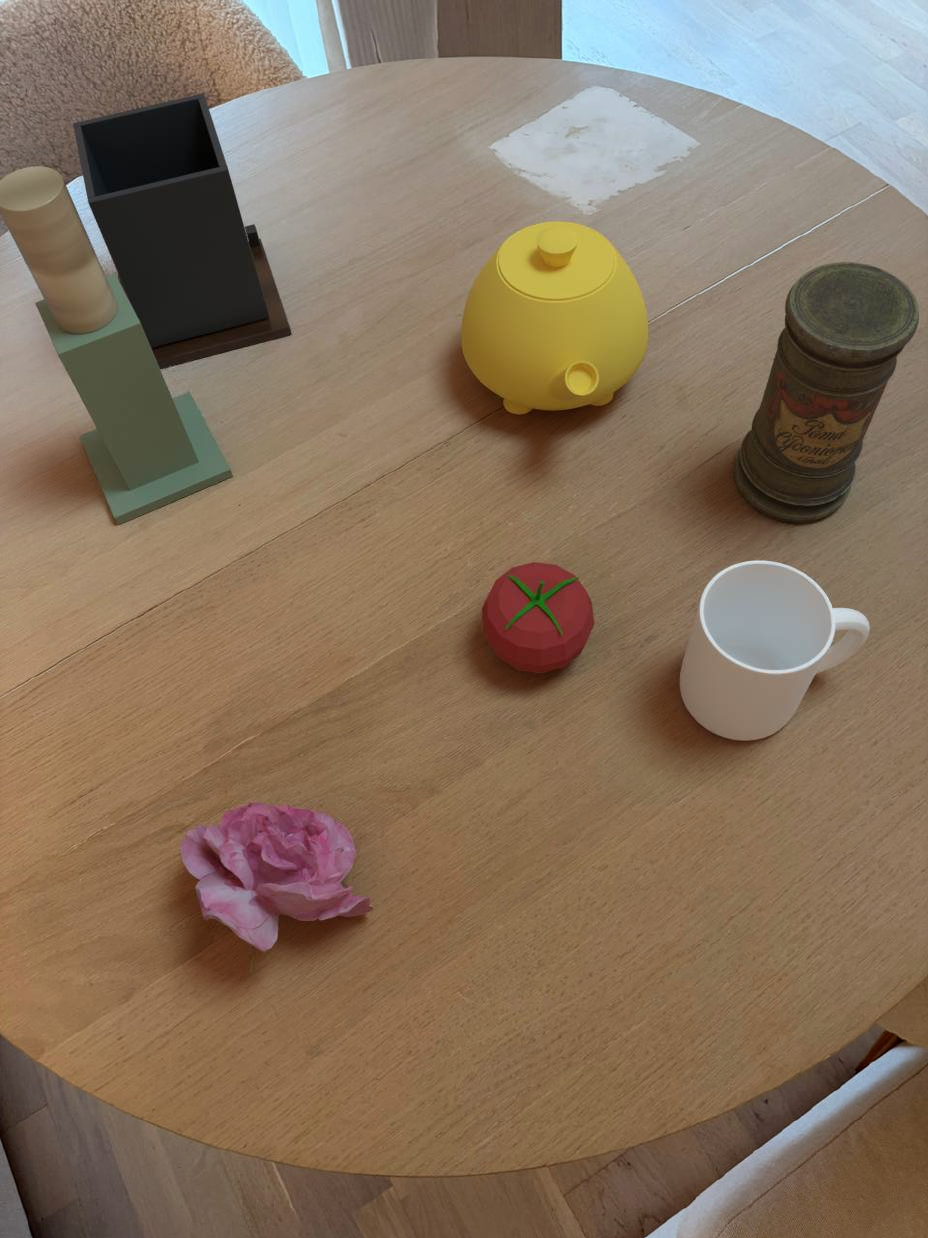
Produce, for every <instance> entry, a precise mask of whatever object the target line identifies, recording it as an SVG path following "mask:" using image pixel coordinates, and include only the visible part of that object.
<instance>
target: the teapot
mask: <svg viewBox="0 0 928 1238" xmlns="http://www.w3.org/2000/svg"><path fill="white" fill-rule="evenodd" d="M461 319H462V320H461V327H460V338H461V339H460V341H461V342H460V343H461V349H462V354H463V357H464V360H465V361H466V364H467V365H468V368H469V369H470V370H471V372H472V374H473V375H474V376H475V377H476V378H477V380H478V381H479V382H480V384H481V383H482V385H483V386H485V387H486V388H487V389H488V390H490V391H491V392H493V393H494V394H496V395H497V396H499V397H501V398H502V399H503V402H502V403H503V407H504V409H505V410H506V411H507V412H508V413H511V414H514V415H525V414H528V413H530V412H532V410H540V411H565V410H571V409H576V408H581V407H584V406H588V405H591V406H596V407H601V406H605V405H607V404H609V403H610V402H611V401H612V400H613V398H614V393H615V392H616V391H619V389H621V388H622V387H623V386H625V385H626V384H627V383H628V382H629V381H630V380H631V379H632V377H633V376H634V375H635V374H636V372H637V371H638V370H639V368H640V366H641V364H642V363H643V362H644V361H643V360H644V359H645V356H646V353H647V348H648V343H649V322H648V321H649V320H648V314H647V308H646V302H645V298H644V295H643V293H642V290H641V288H640V285H639V282H638V280H637V279H636V277H635V275H634V273H633V272H632V270H631V268H630V266H629V264H627V262H626V261H625V259H624V258H623V256H622V255H621V253H620V252H619V251H618V249H617V248H616V247H615V246H614V245H613V244H612V242H610V241H609V240H608V239H607V238H606V236H604V235H603V234H601V233H600V232H599V231H597V230H595V229H593V228H591V227H589V226H586V225H583V224H580V223H577V222H571V221H558V220H557V221H545V222H539V223H536V224H532V225H529V226H526V227H524V228H522V229H519V230H518V231H516V232H514V233H513V234H512V235H510V236H509V237H508V238H507V239H506V240H504V241H503V243H502V244H501V245H500V246H499V247H497V249H496V250H495V251H494V253H493V254H492V255H491V256H490V258H489V259H488V260H487V262H486V263H485V264H484V266H483V267H482V268H481V270H480V271H479V273H478V274H477V276H476V278H475V280H474V281H473V283H472V285H471V288H470V290H469V293H468V295H467V299H466V301H465V305H464V309H463V314H462V318H461Z"/></svg>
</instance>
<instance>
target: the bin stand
mask: <svg viewBox="0 0 928 1238" xmlns="http://www.w3.org/2000/svg"><path fill="white" fill-rule="evenodd" d="M244 228H245V231H246V235H247V238H248V242H249V246H250V249H251V253H252V256H253V260H254V263H255V267H256V271H257V274H258V278H259V281H260V285H261V289H262V292H263V296H264V299H265V303H266V307H267V310H268V314H269V318H266V319H262V320H258V321H254V322H250V323H246V324H243V325H239V326H235V327H231V328H227V329H223V330H219V331H215V332H211V333H208V334H204V335H200V336H196V337H192V338H188V339H184V340H180V341H177V342H173V343H169V344H165V345H161V346H157V347H153V348H151V349H152V351H153V354H154V356H155V358H156V361H157V363H158V366H159V368H160V370H161V369H164V368H168V367H173V366H176V365H180V364H184V363H187V362H191V361H194V360H200V359H203V358H207V357H210V356H215V355H218V354H223V353H226V352H229V351H234V350H238V349H242V348H244V347H250V346H253V345H257V344H260V343H264V342H268V341H272V340H277V339H280V338H284V337H287V336H291V335H293V334H292V331H291V330H292V329H291V326H290V323H289V320H288V317H287V314H286V311H285V307H284V305H283V302H282V298H281V295H280V293H279V290H278V287H277V283H276V280H275V277H274V274H273V271H272V268H271V265H270V263H269V259H268V257H267V253H266V249H265V247H264V244H263V241H262V238H260V237H259V233H258V230H257V227H256V225H255V224H254V223H253V224H249V225H244ZM114 268H115V269H116V267H115V266H114ZM117 278H118V280H119V282H120V284H121V286H122V288H123V290H124V292H125V294H126V296H127V293H126V291H125V289H124V286H123V284H122V281H121V279H120V277H119V274H118V273H117ZM127 298H128V296H127ZM128 300H129V298H128ZM129 302H130V300H129Z"/></svg>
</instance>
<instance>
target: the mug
mask: <svg viewBox="0 0 928 1238" xmlns="http://www.w3.org/2000/svg"><path fill="white" fill-rule="evenodd" d="M870 630H871V628H870V622H869V620H868V618H867V617H866V615H864V613H862V612H861V611H859V610H856V609H853V608H849V607H833V605H832V603H831V601H830V599H829V597H828V595H827V594H826V592H825V591H824V590H823V588H822V587H821V586H820V584H818V583H817V582H816V581H815V580H813V578H812V577H810V576H809V575H807V574H806V573H804V572H802V571H801V570H799V569H797V568H795V567H793V566H791V565H787V564H786V563H785V564H784V563H782V562H777V561H773V560H772V561H771V560H757V559H756V560H747V561H742V562H738V563H735V564H733V565H730V566H727V567H726V568H724V569H722V570H721V571H719V572H718V573H717V574H715V575H714V576H713V577H712V578H711V579H710V581H709V582H708V583H707V584H706V586H705V588H704V589H703V591H702V594H701V596H700V599H699V602H698V606H697V609H696V613H695V617H694V621H693V624H692V627H691V631H690V635H689V638H688V642H687V646H686V649H685V652H684V656H683V659H682V663H681V667H680V673H679V691H680V696H681V698H682V701H683V704H684V706H685V708H686V710H687V712H689V714H690V715H691V717H692V718H694V720H695V721H696V722H697V723H698V724H699V725H701V726H702V727H703V728H704V729H706V730H708V731H709V732H710V733H713V734H715V735H717V736H719V737H721V738H725V739H729V740H732V741H733V740H734V741H744V742H745V741H747V742H749V741H756V740H760V739H761V740H762V739H764V738H767V737H770V736H771V735H773V734H776V733H778V731H780V730H782V729H783V727H785V726H786V725H787V724H788V723H789V722H790V720H791V719H792V718H793V716H795V714H796V713H797V710H798V708H799V706H800V705H801V702H802V701H803V699H804V697H805V695H806V693H807V691H808V689H809V687H810V685H811V683H812V681H813V680H814V679H815V678H814V677H815V676H816V675H817V674H820V673H823V672H826V671H829V670H831V669H833V668H835V667H837V666H839V665H841V664H843V663H845V662H846V661H848V660H849V659H850V658H851V657H853V656H854V655H856V653H858V651H859V650H860V649H861V648H862V647H863V646H864V645H865V644H866V642H867V640H868V638H869V635H870ZM841 631H843V632H845V631H846V632H845V634H844V635H843V636H842V638H840V639H839V640H838V641H837V642H836V643H833V641H834V638H835V635H836V634H835V633H837V632H841ZM832 643H833V645H832Z"/></svg>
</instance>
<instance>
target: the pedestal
mask: <svg viewBox="0 0 928 1238" xmlns="http://www.w3.org/2000/svg"><path fill="white" fill-rule="evenodd" d="M105 276H106V278H107V280H108V283H109V285H110V287H111V290H112V292H113V294H114V296H115V299H116V301H117V305H118V308H117V312H116V315H115V317H114V318H113V319H112V320H111V321H110V323H108V324H107V325H106V326H104V327H103V328H101V329H99V330H96V331H94V332H90V333H85V334H74V333H69V332H66V331H64V330H63V329H61V328H60V327H59V326H58V325H57V323H56V321H55V319H54V317H53V315H52V313H51V311H50V309H49V307H48V305H47V303H46V301H45V299H44V298H43V299H41V300H38V301H35V302H34V304H35V306H36V308H37V310H38V313H39V315H40V317H41V320H42V322H43V325H44V326H45V329H46V331H47V334H48V336H49V338H50V340H51V342H52V345H53V347H54V349H55V352H56V354H57V356H58V358H59V359H60V361H61V364H62V365H63V367H64V369H65V371H66V373H67V375H68V377H69V379H70V380H71V382H72V385H73V386H74V388H75V390H76V392H77V394H78V395H79V398H80V399H81V401H82V403H83V405H84V407H85V409H86V411H87V412H88V414H89V416H90V418H91V420H92V422H93V424H94V426H95V427H96V428H95V429H93V430H90V431H87V432H85V433H83V434H81V435H79V437H78V438H79V440H80V442H81V444H82V446H83V449H84V452H85V453H86V456H87V458H88V460H89V463H90V465H91V468H92V470H93V472H94V475H95V477H96V479H97V481H98V483H99V486H100V489H101V491H102V494H103V496H104V498H105V500H106V502H107V505H108V507H109V510H110V512H111V514H112V516H113V519H114V520H115V522H116V524H117V525H122V524H124V523H126V522H129V521H131V520H134V519H136V518H138V517H141V516H143V515H145V514H148V513H150V512H152V511H155V510H158V509H160V508H162V507H164V506H166V505H169V504H172V503H173V502H176V501H178V500H182V499H184V498H185V497H188V496H190V495H192V494H195V493H197V492H200V491H202V490H204V489H207V488H210V487H211V486H214V485H216V484H218V483H221V482H223V481H226V480H229V479H230V478H232V477H234V475H233V472H232V470H231V468H230V465H229V464H228V461H227V460H226V458H225V456H224V454H223V452H222V451H221V448H220V447H219V444H218V443H217V441H216V439H215V437H214V435H213V433H212V431H211V430H210V427H209V426H208V424H207V422H206V420H205V418H204V416H203V414H202V412H201V410H200V409H199V407H198V405H197V402H196V401H195V399H194V398H193V395H192V393H191V392H190V391H188V392H185V393H183V394H180V395H178V396H175V397H172V394H171V392H170V389H169V387H168V385H167V383H166V380H165V377H164V376H163V373H162V370H161V369H160V368H159V366H158V363H157V361H156V358H155V356H154V354H153V351H152V349H151V347H150V344H149V342H148V339H147V337H146V335H145V332H144V330H143V328H142V325H141V323H140V321H139V319H138V317H137V315H136V313H135V311H134V309H133V307H132V305H131V303H130V302H129V300H128V298H127V296H126V294H125V292H124V290H123V288H122V286H121V284H120V282H119V279H118V275H116V273H112V274H109V275H105Z"/></svg>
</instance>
